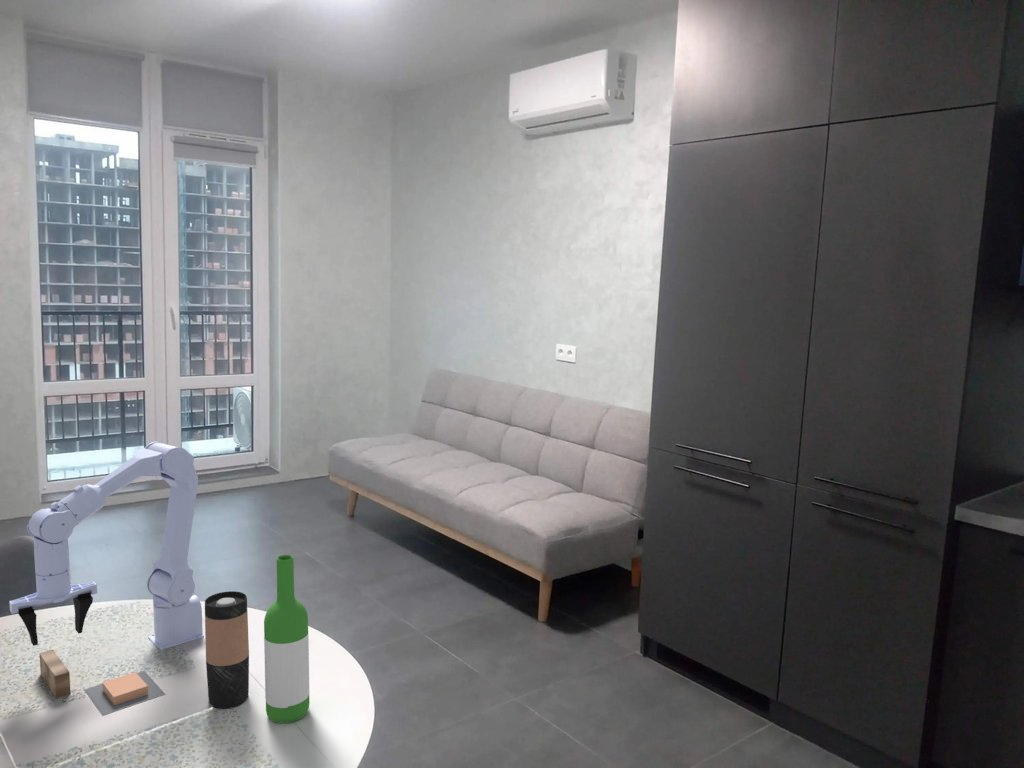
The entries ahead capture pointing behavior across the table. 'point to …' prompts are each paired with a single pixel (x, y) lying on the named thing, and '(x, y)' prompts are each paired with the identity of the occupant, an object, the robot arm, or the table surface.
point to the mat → (108, 707)
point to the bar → (55, 673)
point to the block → (125, 688)
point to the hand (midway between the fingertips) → (57, 637)
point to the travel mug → (227, 649)
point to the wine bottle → (286, 650)
